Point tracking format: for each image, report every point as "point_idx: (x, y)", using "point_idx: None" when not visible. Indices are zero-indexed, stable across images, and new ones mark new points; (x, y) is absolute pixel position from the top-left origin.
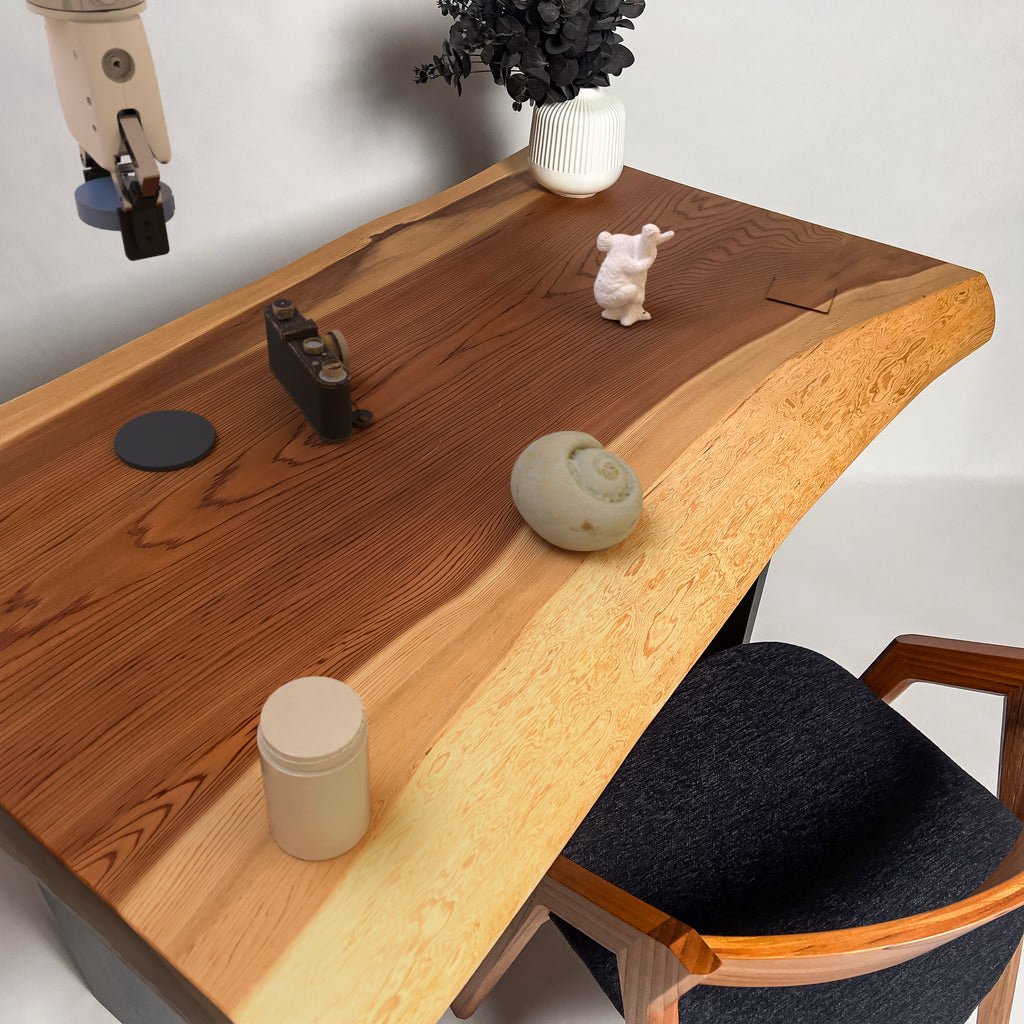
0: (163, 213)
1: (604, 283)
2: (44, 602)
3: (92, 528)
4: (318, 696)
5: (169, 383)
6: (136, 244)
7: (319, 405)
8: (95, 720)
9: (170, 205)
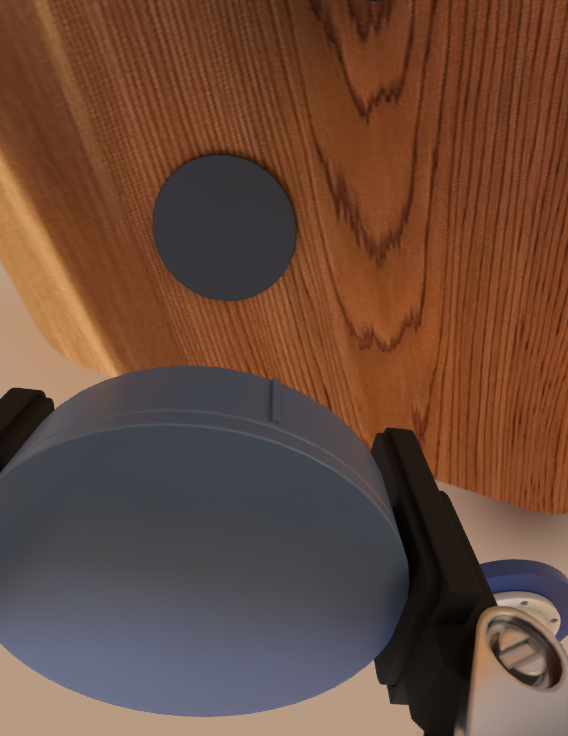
0: (461, 546)
1: None
2: None
3: (329, 373)
4: None
5: (69, 141)
6: None
7: None
8: (540, 458)
9: (356, 462)
